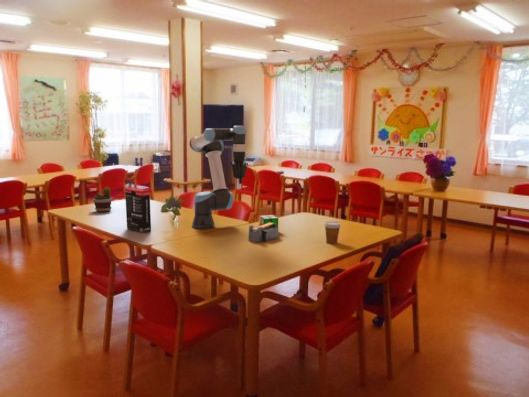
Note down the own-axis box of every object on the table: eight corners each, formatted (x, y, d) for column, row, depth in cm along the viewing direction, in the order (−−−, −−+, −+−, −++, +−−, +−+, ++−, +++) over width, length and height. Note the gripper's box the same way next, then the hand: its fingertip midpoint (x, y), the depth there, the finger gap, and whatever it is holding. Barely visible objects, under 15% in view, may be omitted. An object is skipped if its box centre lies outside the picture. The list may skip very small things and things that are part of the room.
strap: (251, 230, 274) (251, 228, 273) (268, 224, 286) (268, 221, 286) (257, 232, 271) (257, 229, 270) (274, 225, 283) (274, 222, 283)
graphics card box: (152, 231, 294) (150, 189, 289) (143, 233, 288) (142, 191, 283) (134, 227, 303) (132, 187, 298) (125, 229, 297) (124, 188, 292)
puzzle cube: (273, 229, 303) (273, 214, 301) (278, 233, 294) (278, 218, 292) (258, 230, 300) (259, 215, 298) (263, 234, 291) (263, 218, 289)
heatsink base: (246, 239, 276) (246, 225, 275) (265, 233, 291) (265, 220, 290) (261, 243, 269) (261, 228, 267) (280, 236, 284) (280, 222, 282)
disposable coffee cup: (340, 241, 276) (341, 222, 274) (338, 245, 267) (339, 225, 265) (325, 239, 279) (325, 220, 276) (322, 243, 270) (323, 224, 267)
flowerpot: (95, 213, 343) (93, 187, 339) (92, 210, 356) (90, 185, 352) (115, 212, 349) (113, 186, 346) (111, 208, 363) (110, 183, 359)
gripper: (227, 150, 281) (227, 188, 285) (243, 152, 273) (243, 190, 277) (235, 150, 286) (235, 187, 291) (251, 151, 278) (250, 189, 283)
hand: (239, 188), depth 284 cm, fingers closed
